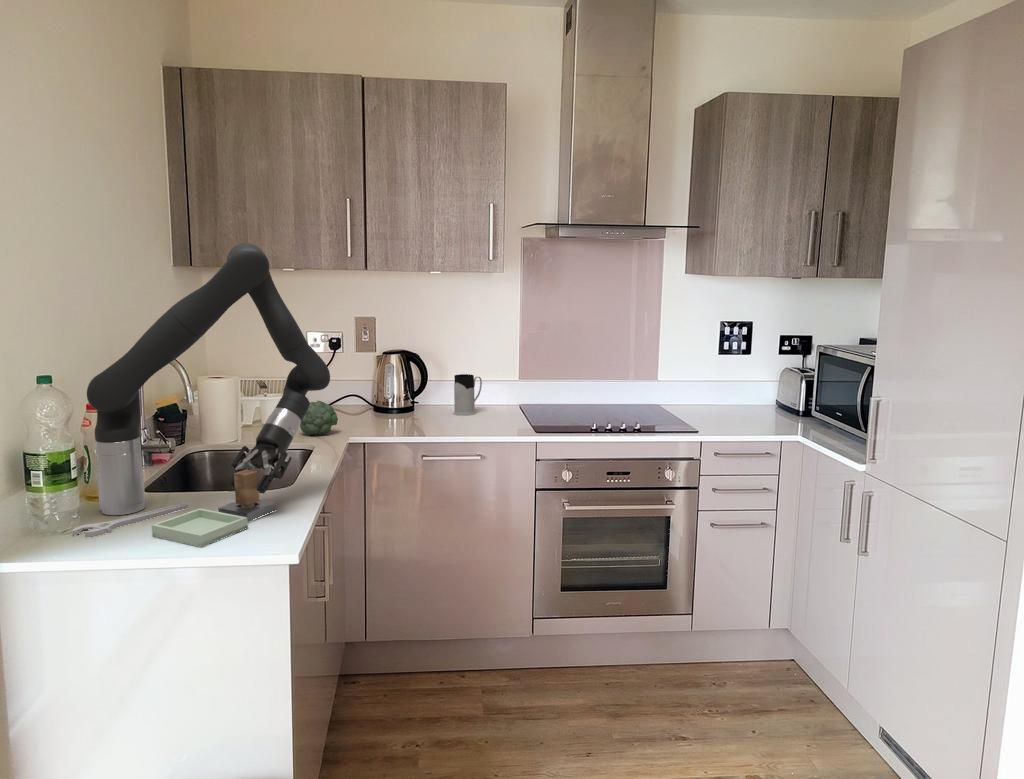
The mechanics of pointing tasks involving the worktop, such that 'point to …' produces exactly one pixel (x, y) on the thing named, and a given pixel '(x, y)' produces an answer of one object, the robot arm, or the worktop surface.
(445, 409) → the worktop surface
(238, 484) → the wooden square peg
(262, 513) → the socket block
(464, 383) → the grey black mug
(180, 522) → the tray
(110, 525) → the adjustable wrench
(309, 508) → the worktop surface
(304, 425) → the vegetable
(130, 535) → the worktop surface
